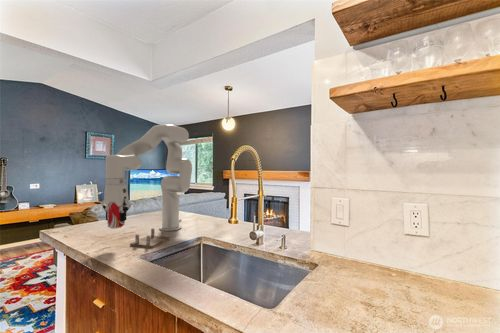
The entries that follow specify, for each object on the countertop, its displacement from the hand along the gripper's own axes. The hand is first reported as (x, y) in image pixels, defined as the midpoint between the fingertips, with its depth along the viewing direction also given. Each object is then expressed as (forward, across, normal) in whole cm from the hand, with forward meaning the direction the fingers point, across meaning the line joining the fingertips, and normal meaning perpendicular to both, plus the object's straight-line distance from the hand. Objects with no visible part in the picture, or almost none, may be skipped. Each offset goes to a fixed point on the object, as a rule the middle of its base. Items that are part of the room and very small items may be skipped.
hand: (116, 220), depth 114 cm
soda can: (+3, 0, 0) cm, 3 cm away
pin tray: (+13, -11, -10) cm, 20 cm away
